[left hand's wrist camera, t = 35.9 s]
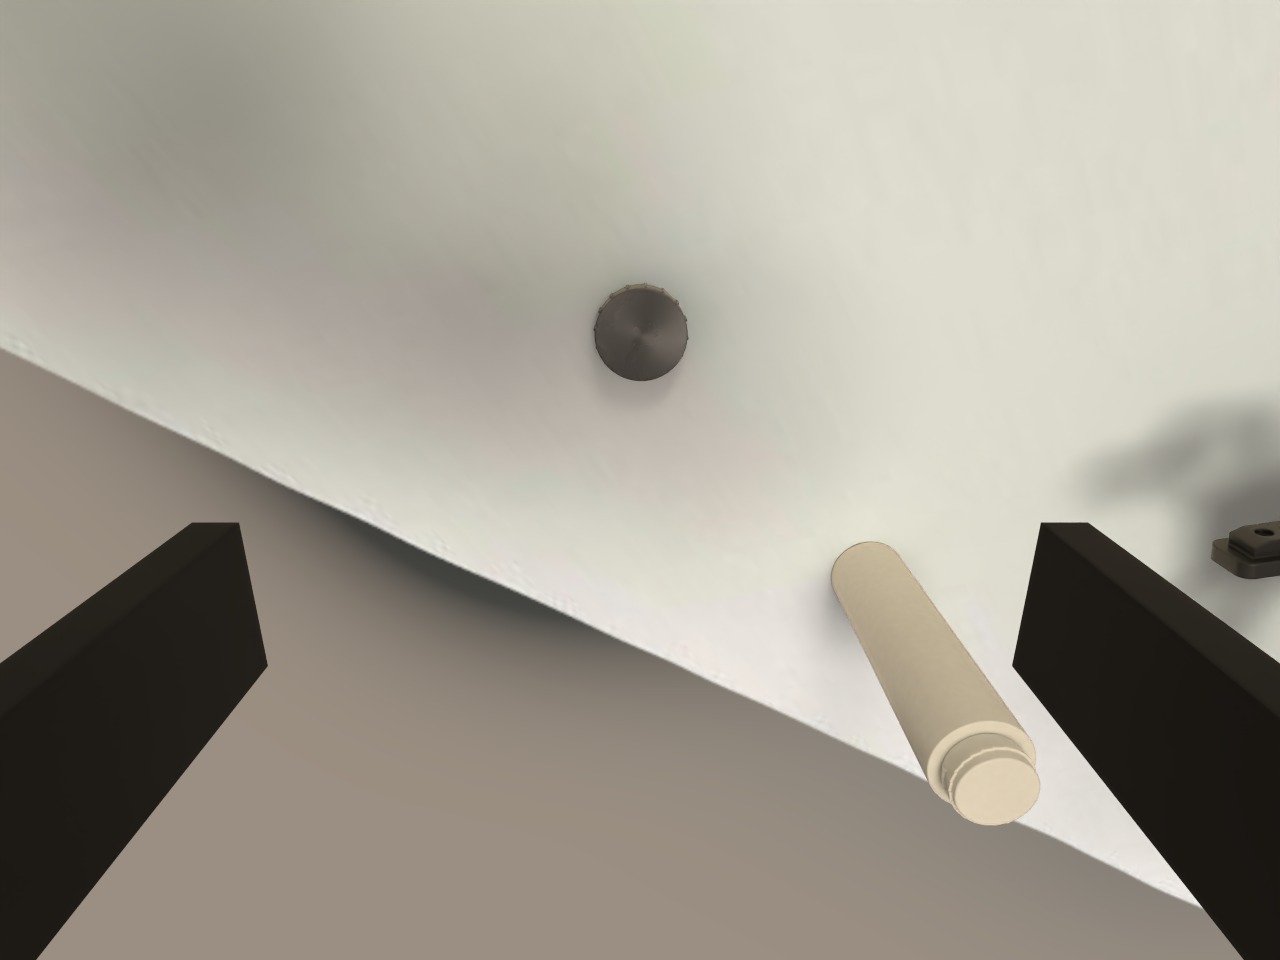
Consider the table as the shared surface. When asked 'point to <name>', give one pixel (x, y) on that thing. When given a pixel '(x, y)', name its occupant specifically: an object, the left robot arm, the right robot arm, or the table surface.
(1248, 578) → the right robot arm
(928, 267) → the table surface
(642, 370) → the lid
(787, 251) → the table surface
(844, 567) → the cream bottle
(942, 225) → the table surface
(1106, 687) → the left robot arm
